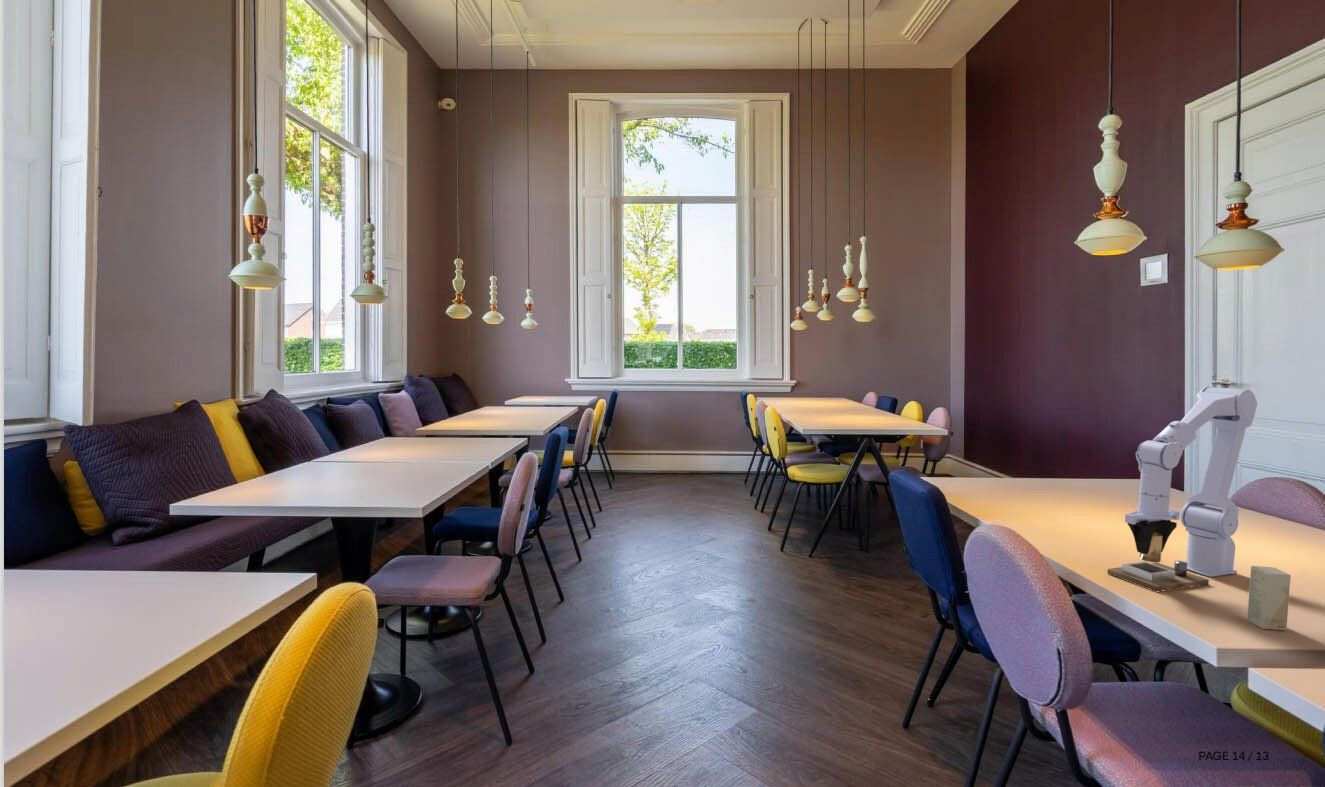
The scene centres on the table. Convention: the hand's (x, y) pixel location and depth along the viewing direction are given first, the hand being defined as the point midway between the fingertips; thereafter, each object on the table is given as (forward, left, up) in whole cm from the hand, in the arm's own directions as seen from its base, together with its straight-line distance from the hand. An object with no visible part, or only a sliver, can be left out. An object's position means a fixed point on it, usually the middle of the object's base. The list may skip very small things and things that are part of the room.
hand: (1149, 552), depth 162 cm
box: (+1, +25, -7) cm, 26 cm away
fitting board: (-3, 0, -7) cm, 7 cm away
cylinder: (0, 0, -2) cm, 2 cm away
